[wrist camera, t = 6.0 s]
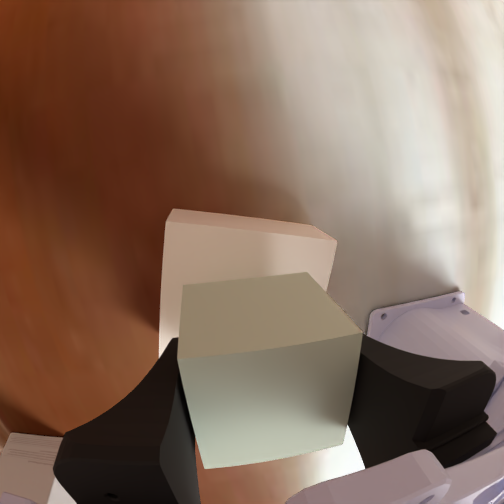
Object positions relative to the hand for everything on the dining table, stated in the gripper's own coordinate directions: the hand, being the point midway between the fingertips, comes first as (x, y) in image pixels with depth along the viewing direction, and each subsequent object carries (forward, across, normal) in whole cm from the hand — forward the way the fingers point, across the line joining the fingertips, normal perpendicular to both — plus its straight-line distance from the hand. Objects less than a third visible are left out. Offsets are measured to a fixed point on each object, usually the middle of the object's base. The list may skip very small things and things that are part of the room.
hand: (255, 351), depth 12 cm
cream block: (+7, 0, 0) cm, 7 cm away
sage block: (+1, 0, 0) cm, 1 cm away
